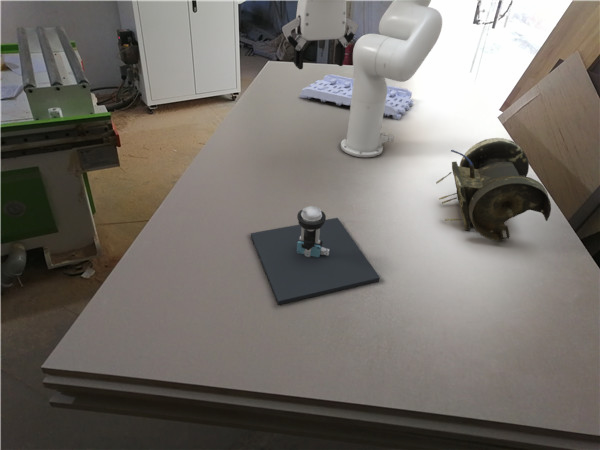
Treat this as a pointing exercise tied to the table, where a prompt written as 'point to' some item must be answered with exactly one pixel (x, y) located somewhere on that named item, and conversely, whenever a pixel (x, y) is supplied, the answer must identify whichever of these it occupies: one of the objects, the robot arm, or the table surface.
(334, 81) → the ice tray
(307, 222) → the push button
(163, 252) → the table surface
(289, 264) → the mat
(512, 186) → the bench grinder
